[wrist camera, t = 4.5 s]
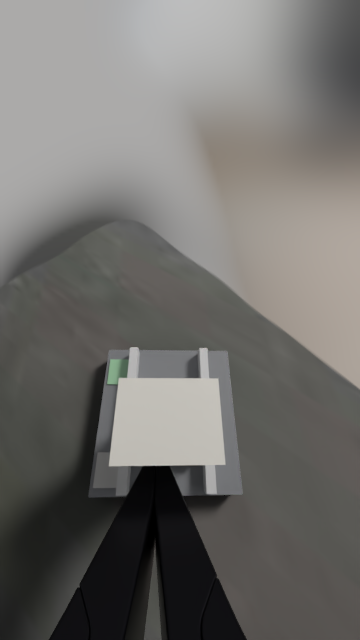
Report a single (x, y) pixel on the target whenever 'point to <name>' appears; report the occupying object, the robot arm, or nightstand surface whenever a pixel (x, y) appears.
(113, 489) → the breaker panel
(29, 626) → the nightstand surface
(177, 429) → the handle
